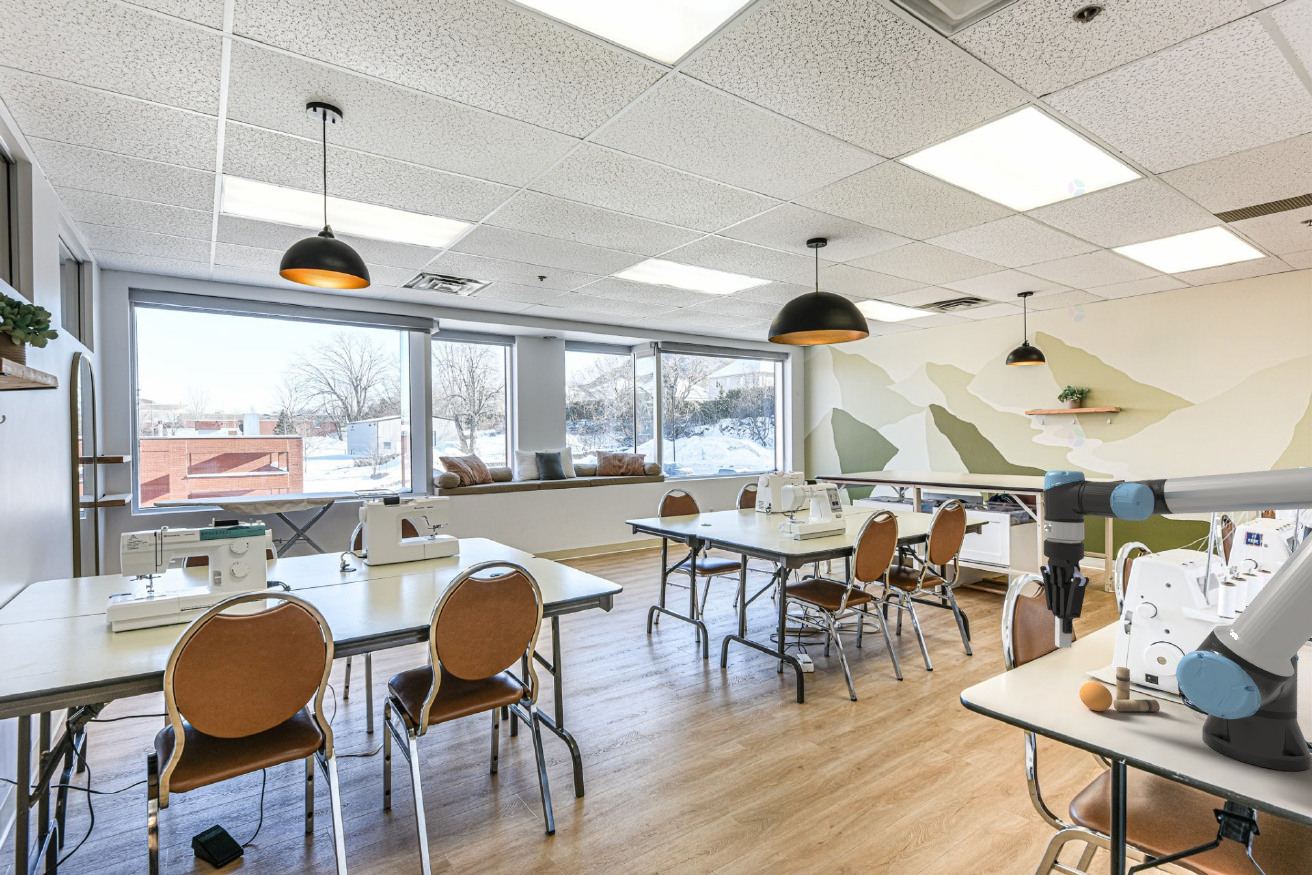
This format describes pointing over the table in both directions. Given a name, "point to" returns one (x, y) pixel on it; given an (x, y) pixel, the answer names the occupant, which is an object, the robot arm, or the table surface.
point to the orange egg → (1096, 696)
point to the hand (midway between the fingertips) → (1063, 646)
